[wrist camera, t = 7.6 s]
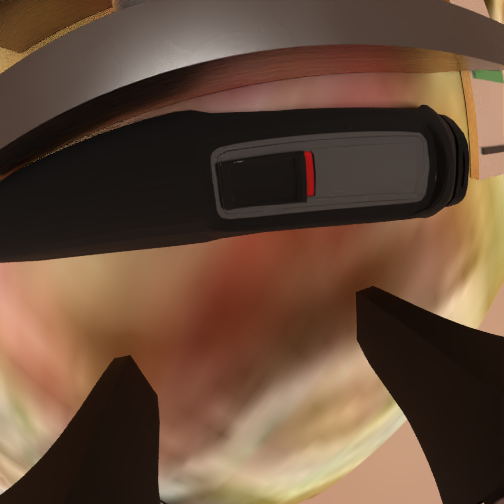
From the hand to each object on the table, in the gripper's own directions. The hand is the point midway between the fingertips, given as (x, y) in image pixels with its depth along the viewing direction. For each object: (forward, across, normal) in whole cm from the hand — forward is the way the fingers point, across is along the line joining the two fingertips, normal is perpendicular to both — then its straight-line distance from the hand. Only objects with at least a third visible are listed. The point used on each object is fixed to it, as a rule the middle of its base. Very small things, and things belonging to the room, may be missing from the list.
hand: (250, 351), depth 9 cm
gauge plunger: (+1, -2, -13) cm, 14 cm away
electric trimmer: (+2, -1, -5) cm, 5 cm away
